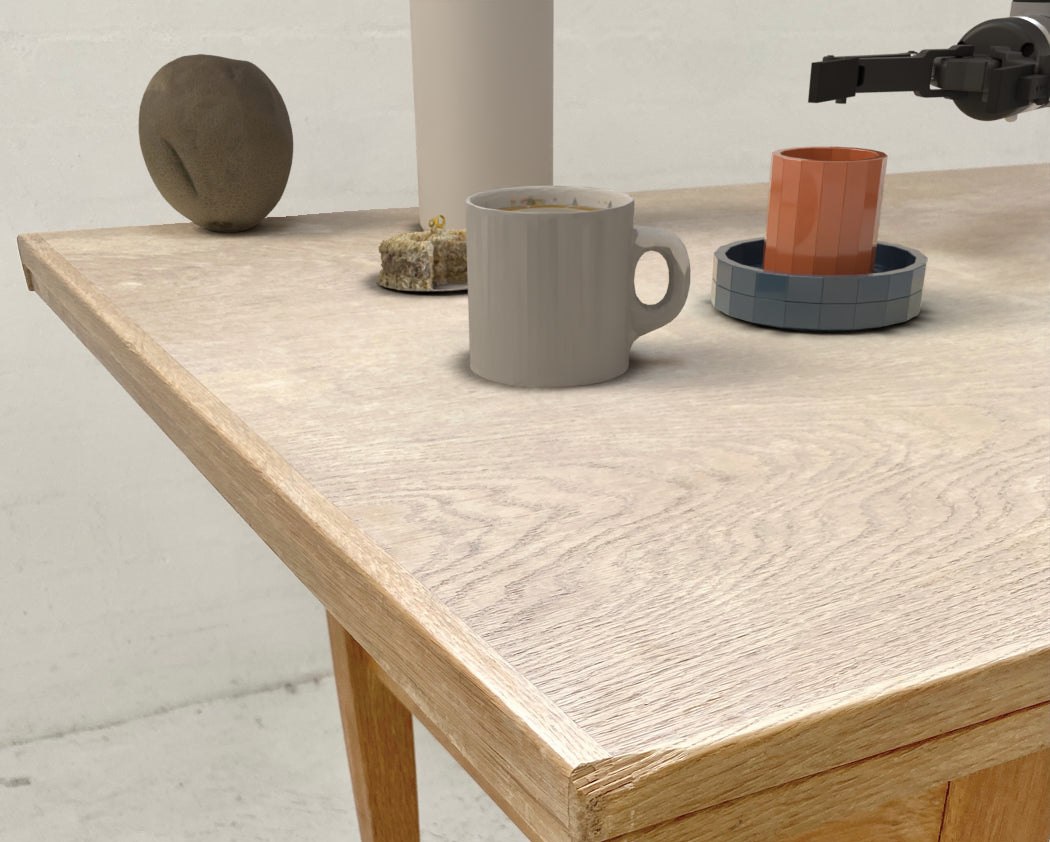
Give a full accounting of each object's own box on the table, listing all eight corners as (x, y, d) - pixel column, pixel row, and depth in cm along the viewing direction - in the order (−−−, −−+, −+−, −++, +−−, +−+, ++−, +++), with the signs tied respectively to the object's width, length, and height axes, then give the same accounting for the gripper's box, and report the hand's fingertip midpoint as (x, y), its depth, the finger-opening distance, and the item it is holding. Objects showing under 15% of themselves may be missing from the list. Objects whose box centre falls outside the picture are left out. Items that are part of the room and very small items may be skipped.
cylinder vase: (399, 238, 118) (381, -81, 105) (448, 216, 128) (438, -78, 116) (528, 246, 114) (527, -83, 102) (569, 222, 125) (571, -80, 112)
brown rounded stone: (327, 233, 121) (312, 54, 113) (181, 250, 114) (155, 61, 107) (269, 212, 131) (252, 47, 124) (132, 226, 125) (105, 53, 117)
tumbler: (889, 311, 90) (909, 157, 85) (791, 320, 88) (806, 163, 83) (834, 288, 96) (849, 144, 91) (742, 296, 94) (753, 149, 89)
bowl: (960, 327, 88) (970, 267, 86) (769, 346, 85) (774, 284, 83) (851, 283, 100) (857, 230, 98) (679, 298, 97) (681, 243, 95)
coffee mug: (455, 387, 77) (448, 211, 72) (486, 344, 86) (483, 184, 81) (679, 396, 75) (689, 216, 70) (689, 352, 84) (698, 188, 79)
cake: (351, 292, 102) (343, 220, 99) (445, 274, 108) (440, 206, 105) (434, 302, 95) (428, 224, 93) (529, 282, 101) (526, 209, 99)
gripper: (1154, 126, 102) (1066, 156, 87) (862, 109, 115) (743, 132, 101) (1177, 19, 98) (1089, 31, 84) (872, 14, 112) (751, 24, 97)
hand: (900, 87), depth 92 cm, fingers open, 13 cm apart
